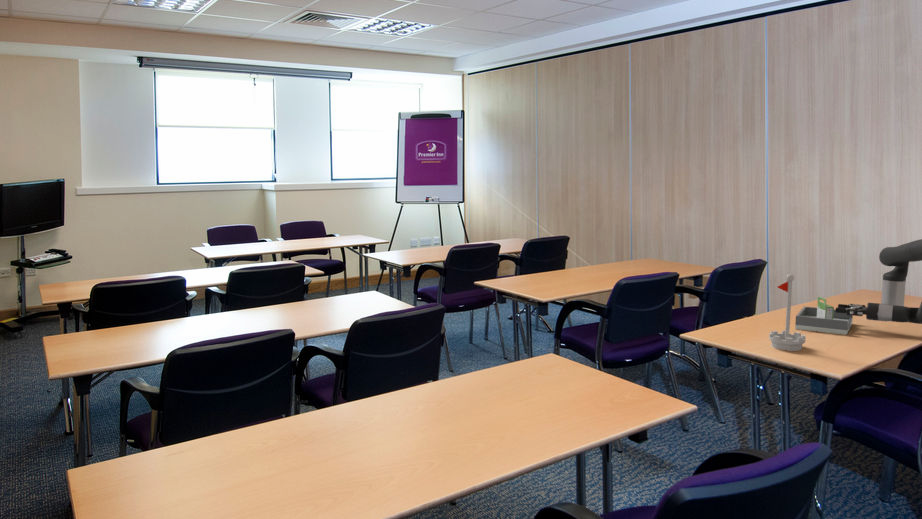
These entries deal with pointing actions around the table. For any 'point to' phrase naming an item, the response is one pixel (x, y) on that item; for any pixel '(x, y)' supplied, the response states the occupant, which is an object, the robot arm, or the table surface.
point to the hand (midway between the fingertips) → (836, 308)
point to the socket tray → (823, 322)
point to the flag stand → (787, 325)
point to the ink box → (824, 309)
